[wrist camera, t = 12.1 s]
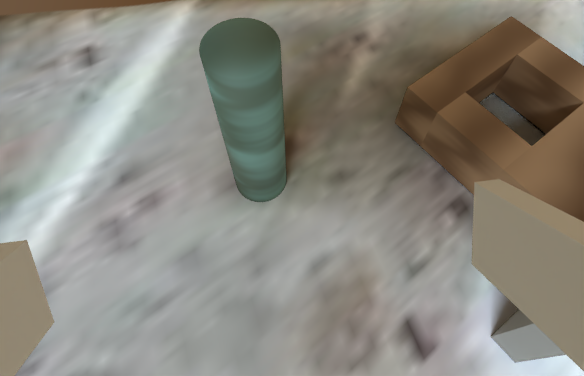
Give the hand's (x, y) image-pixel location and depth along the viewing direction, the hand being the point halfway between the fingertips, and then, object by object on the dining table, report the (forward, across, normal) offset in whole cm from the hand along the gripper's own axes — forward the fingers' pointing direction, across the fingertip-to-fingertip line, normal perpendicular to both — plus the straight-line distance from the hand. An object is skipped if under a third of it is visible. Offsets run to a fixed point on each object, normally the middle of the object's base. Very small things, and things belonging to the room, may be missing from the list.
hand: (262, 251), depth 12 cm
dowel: (+21, 0, +4) cm, 21 cm away
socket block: (+20, -21, +4) cm, 29 cm away
